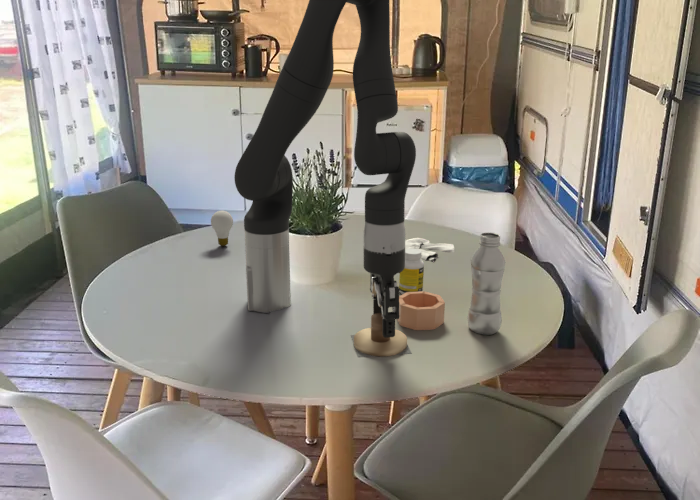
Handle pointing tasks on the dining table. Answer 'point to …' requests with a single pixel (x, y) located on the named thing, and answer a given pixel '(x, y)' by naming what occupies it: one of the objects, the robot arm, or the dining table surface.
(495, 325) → the plastic bottle
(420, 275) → the supplement bottle
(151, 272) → the dining table surface
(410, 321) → the bowl
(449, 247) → the cloth
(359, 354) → the mat
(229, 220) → the light bulb
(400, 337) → the lid
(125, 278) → the dining table surface
